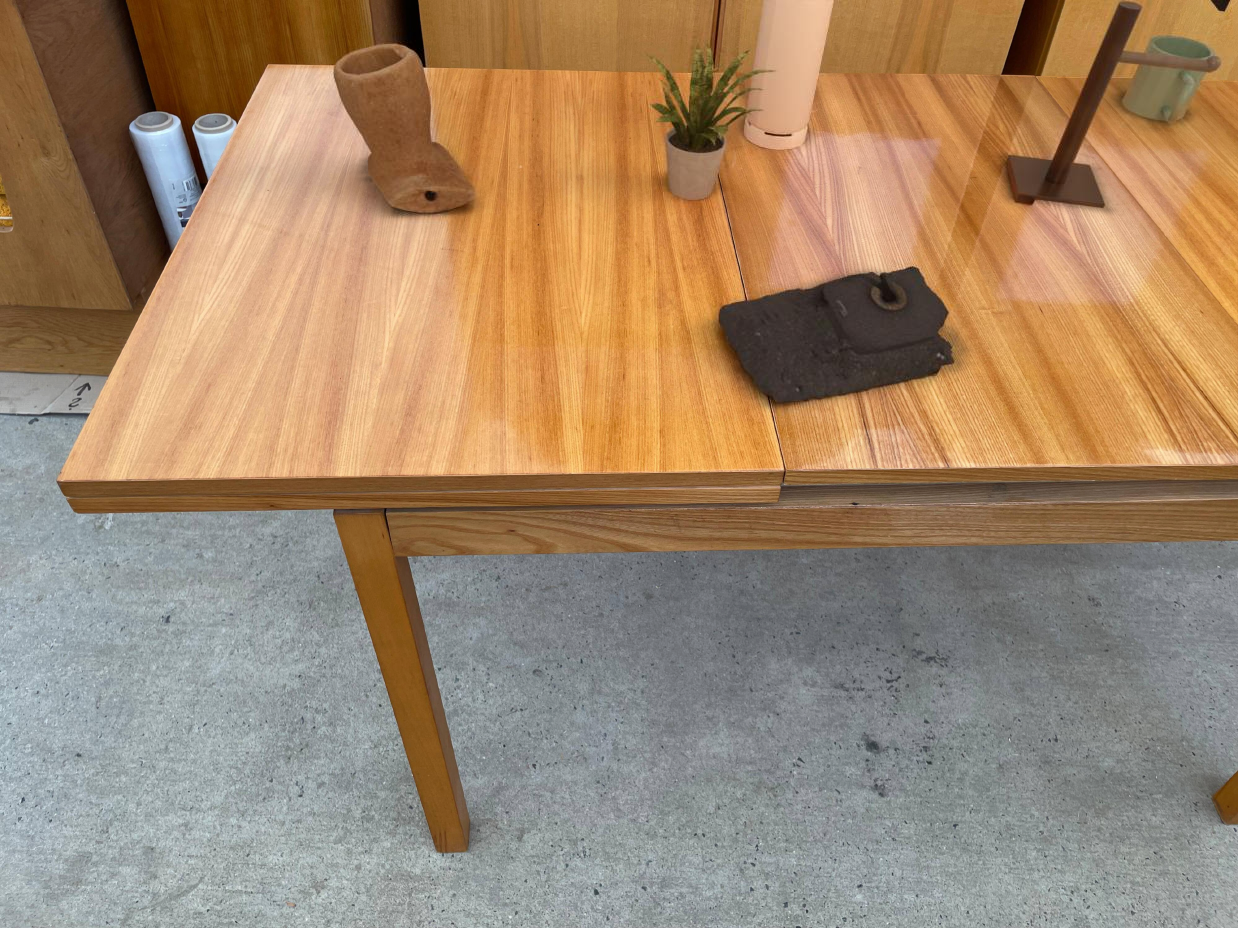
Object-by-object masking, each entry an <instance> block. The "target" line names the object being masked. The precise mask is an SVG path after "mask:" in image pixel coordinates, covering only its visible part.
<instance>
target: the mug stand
mask: <svg viewBox="0 0 1238 928" xmlns="http://www.w3.org/2000/svg"><path fill="white" fill-rule="evenodd" d="M1142 10H1143V6H1142V5H1141V4H1139V3H1138V2H1134V1H1128V0H1121V1H1119V2H1118V3H1117V5H1116V8H1115V10H1114V13H1113V15H1112V18H1111V20H1110V22H1109V24H1108V27H1107V29H1106V31H1105V34H1104V37H1103V39H1102V41H1101V44H1100V46H1099V49H1098V51H1097V53H1096V55H1095V58H1094V60H1093V63H1092V65H1091V67H1090V69H1089V72H1088V74H1087V76H1086V79H1085V82H1084V84H1083V87H1082V89H1081V91H1080V93H1079V96H1078V98H1077V100H1076V103H1075V105H1074V106H1073V107H1074V108H1073V109H1072V112H1071V114H1070V117H1069V119H1068V122H1067V123H1066V127H1065V129H1064V131H1063V133H1062V135H1061V138H1060V140H1059V143H1058V145H1057V147H1056V150H1055V153H1054V154H1053V157H1052V159H1045V158H1039V157H1030V156H1023V155H1014V154H1008V156H1007V159H1006V161H1005V167H1006V170H1007V174H1008V179H1009V182H1010V186H1011V190H1012V194H1013V199H1014V202H1015V203H1018V204H1027V205H1034V203H1035V201H1036V200H1038V201H1045V202H1053V203H1061V204H1069V205H1077V206H1084V207H1091V208H1100V209H1104V208H1105V206H1106V203H1105V200H1104V197H1103V195H1102V193H1101V191H1100V188H1099V185H1098V183H1097V179H1096V177H1095V175H1094V172H1093V169H1092V167H1091V165H1090V164H1086V163H1078V162H1075V161H1076V158H1077V156H1078V154H1079V152H1080V150H1081V147H1082V145H1083V143H1084V141H1085V138H1086V136H1087V134H1088V132H1089V129H1090V127H1091V125H1092V123H1093V120H1094V118H1095V116H1096V113H1097V111H1098V109H1099V106H1100V105H1101V102H1102V101H1103V98H1104V95H1105V93H1106V91H1107V89H1108V86H1109V84H1110V82H1111V80H1112V77H1113V75H1114V73H1115V71H1116V68H1117V67H1118V63H1120V64H1129V65H1137V66H1138V65H1146V66H1155V67H1164V68H1173V69H1181V70H1190V71H1199V72H1206V73H1209V74H1210V73H1213V72H1215V71H1217V70H1218V69H1220V68H1221V64H1222V59H1221V57H1220V56H1217V55H1215V56H1211V57H1209V58H1207V59H1206V60H1202V59H1194V58H1185V57H1176V56H1167V55H1158V54H1149V53H1144V52H1141V51H1131V50H1125V48H1126V46H1127V44H1128V41H1129V38H1130V36H1131V35H1132V32H1133V30H1134V28H1135V25H1136V23H1137V21H1138V18H1139V17H1140V14H1141V12H1142Z"/></svg>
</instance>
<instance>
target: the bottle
mask: <svg viewBox="0 0 1238 928" xmlns="http://www.w3.org/2000/svg"><path fill="white" fill-rule="evenodd" d="M834 2H835V0H763V2H762V7H761V8H762V9H761V15H760V20H759V26H758V27H759V28H758V33H757V34H758V35H757V41H756V48H755V54H754V61H753V67H752V71H755V70H774V71H775V72H766V73H759V74H756V75H754V76H752V77H751V80H750V86H749V88H760V89H763V90H751V91H749V94H748V100H747V106H746V110H749V109H760V110H763V111H752V112H749V113H750V114H749V113H747V114H746V118H745V119H744V126H743V136H744V137H745V139H746V140H748V141H749V142H750V143H751V144H754V145H756V146H758V147H760V148H764V149H769V150H777V151H784V150H792V149H795V148H798V147H800V146H802V145H804V143H805V141H806V139H807V138H806V137H807V133H808V124H809V122H810V119H811V115H812V109H813V104H814V99H815V94H816V90H817V85H818V80H819V75H820V70H821V66H822V60H823V56H824V50H825V46H826V41H827V37H828V36H827V35H828V31H829V27H830V23H831V22H830V21H831V17H832V12H833V7H834ZM778 71H779V72H778ZM766 133H769V134H766ZM771 134H773V135H771ZM777 135H788V136H777Z"/></svg>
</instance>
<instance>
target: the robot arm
mask: <svg viewBox="0 0 1238 928" xmlns="http://www.w3.org/2000/svg"><path fill="white" fill-rule="evenodd" d="M1210 2H1211V3H1212V4H1213V5H1214V7H1215V8H1216V10H1217V11H1218V12H1223V13H1224V12H1226V11H1227V9H1228V6H1229V4H1230V2H1231V0H1210Z"/></svg>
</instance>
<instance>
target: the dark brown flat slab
mask: <svg viewBox="0 0 1238 928" xmlns="http://www.w3.org/2000/svg"><path fill="white" fill-rule="evenodd" d="M925 279H926V278H925V277H924V275H923V274H922V272H921V271H920V268H918V267H916V266H908V267H905V268H903V269H901V268H900V269H897V270H892V271H891V272H886V271H885V272H884V271H883V272H881V273H880V274H877V273H876V272H874V271H869V272H865V273H863V272H861V273H856V274H850V275H847V276H843V277H840V278H837V279H833V280H830V281H826V282H824V283H821V284H819V285H816V286H813V287H812V288H811V287H810V288H805V289H802V288H795V289H786V290H784V291H779V292H777V293H774V294H773V293H772V294H766V295H764V296H762V297H759V298H754V299H750V300H748V299H745V300H740V301H735V302H732V303H729V304H724V305H722V306H720V308H719V311H718V315H717V316H718V317H717V319H718V323H719V325H720V327H721V328H722V330H723V331H724V333H725V335H726V337H727V342H728V343H729V345H730V346H731V347H732V348H733V350H734V351H735V353H737V356H738V358H739V361H740V363H741V366H742V368H743V369H744V370H745V371H746V372H747V373H748V376H749V377H750V378H751V379H752V380H753V381H754V384H755V385H756V387H757V388H758V389H759V390H761V391H762V392H763V394H765V395H766V396H768V397H770V398H772V399H773V400H774V402H775V403H786V402H789V403H792V402H800V401H801V402H802V401H805V402H808V401H810V400H811V399H812V400H820V399H823V398H831V397H835V396H845V395H849V394H851V393H852V394H853V393H857V392H859V393H860V392H862V391H863V392H864V391H869V390H870V389H875V388H881V387H884V386H891V385H893V384H896V383H903V382H906V381H911V380H913V379H916V378H917V379H918V378H925V377H927V376H932V375H935V374H936V373H939V372H940V371H941V368H942V367H943V366H950V365H953V364H955V362H956V361H955V358H954V357H953V355H952V354H953V350H952V349H953V346H952V345H951V342H949V341H948V340H946V339H945V338H944V337H942V335H940V334H939V331H940V329H941V328H943V327H944V326H945V323H946V320H947V318H948V315H950V312H949V310H948V309H947V307H946V305H945V303H944V302H943V300H942V299H941V298H940V297H939V296H938V295H937V293H936V292H935V291H934V290H932V288H931V287H930V286H929V285H928V284H927V282H926V280H925Z"/></svg>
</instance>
